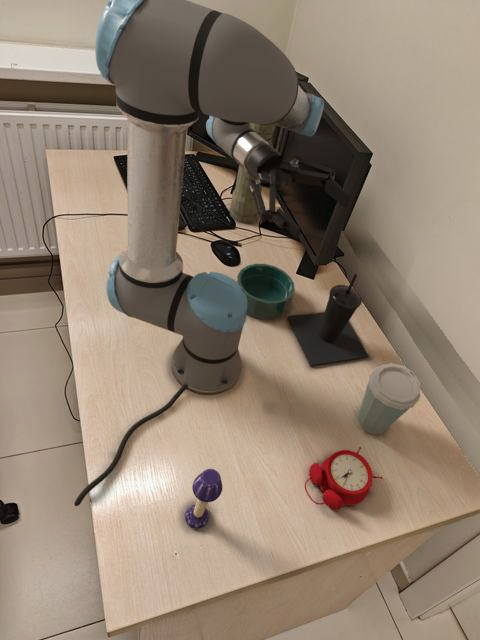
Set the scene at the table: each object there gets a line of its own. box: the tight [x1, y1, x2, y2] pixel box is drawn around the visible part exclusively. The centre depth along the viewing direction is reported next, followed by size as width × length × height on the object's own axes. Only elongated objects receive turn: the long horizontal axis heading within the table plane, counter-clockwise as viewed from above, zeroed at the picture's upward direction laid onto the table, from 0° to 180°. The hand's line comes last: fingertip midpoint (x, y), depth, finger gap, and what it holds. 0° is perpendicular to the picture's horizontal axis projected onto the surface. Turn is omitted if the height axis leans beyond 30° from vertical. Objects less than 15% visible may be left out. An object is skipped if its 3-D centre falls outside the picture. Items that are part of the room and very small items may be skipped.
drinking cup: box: [319, 273, 363, 343], centre depth 108 cm, size 8×8×20 cm
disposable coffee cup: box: [357, 362, 421, 435], centre depth 96 cm, size 11×11×15 cm
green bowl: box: [235, 263, 296, 320], centre depth 118 cm, size 15×15×6 cm
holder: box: [286, 311, 370, 368], centre depth 116 cm, size 16×16×1 cm
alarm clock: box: [304, 446, 383, 511], centre depth 89 cm, size 10×6×15 cm
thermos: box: [229, 123, 284, 224], centre depth 131 cm, size 9×12×35 cm
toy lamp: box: [184, 468, 223, 530], centre depth 75 cm, size 5×5×17 cm
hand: (323, 218), depth 94 cm, fingers open, 13 cm apart
